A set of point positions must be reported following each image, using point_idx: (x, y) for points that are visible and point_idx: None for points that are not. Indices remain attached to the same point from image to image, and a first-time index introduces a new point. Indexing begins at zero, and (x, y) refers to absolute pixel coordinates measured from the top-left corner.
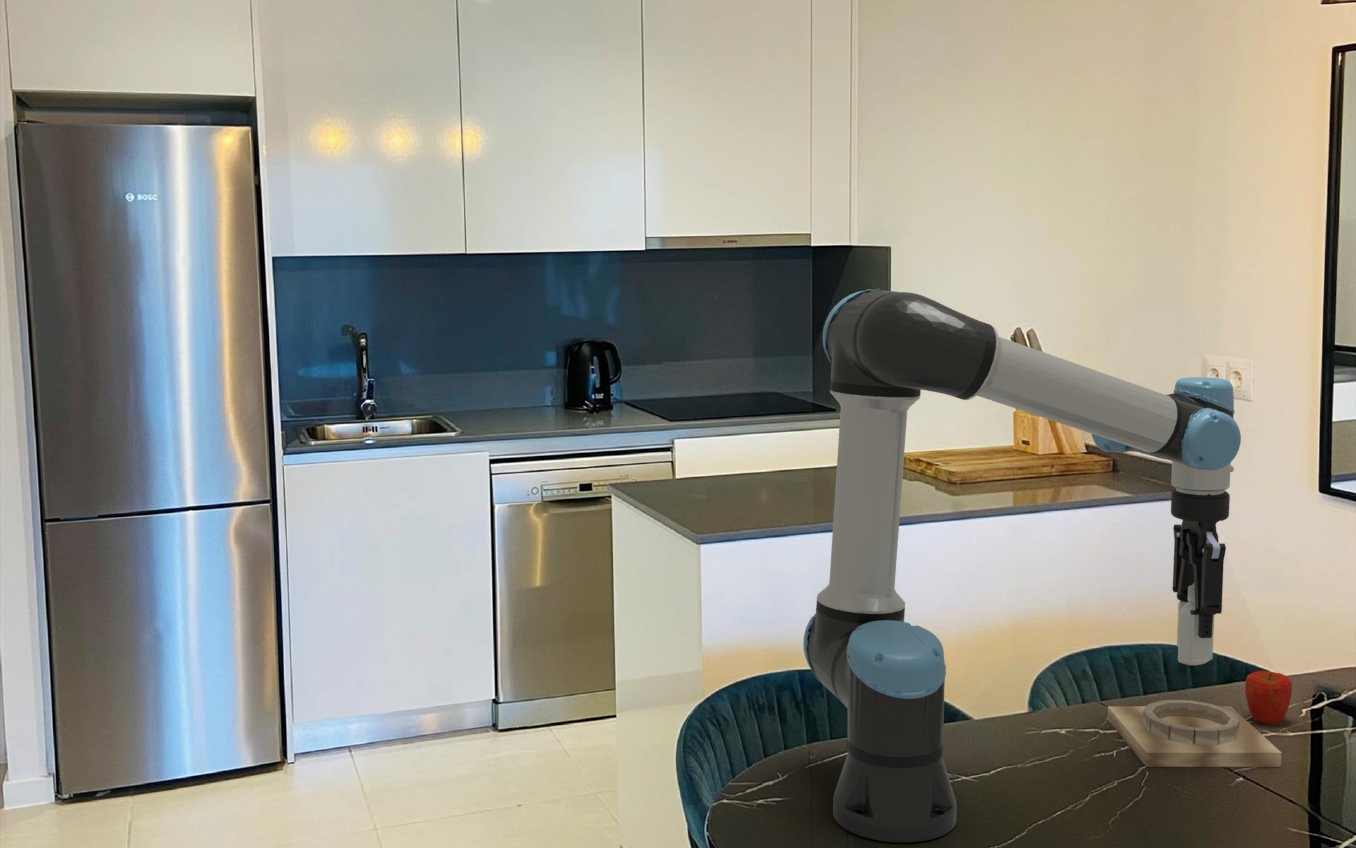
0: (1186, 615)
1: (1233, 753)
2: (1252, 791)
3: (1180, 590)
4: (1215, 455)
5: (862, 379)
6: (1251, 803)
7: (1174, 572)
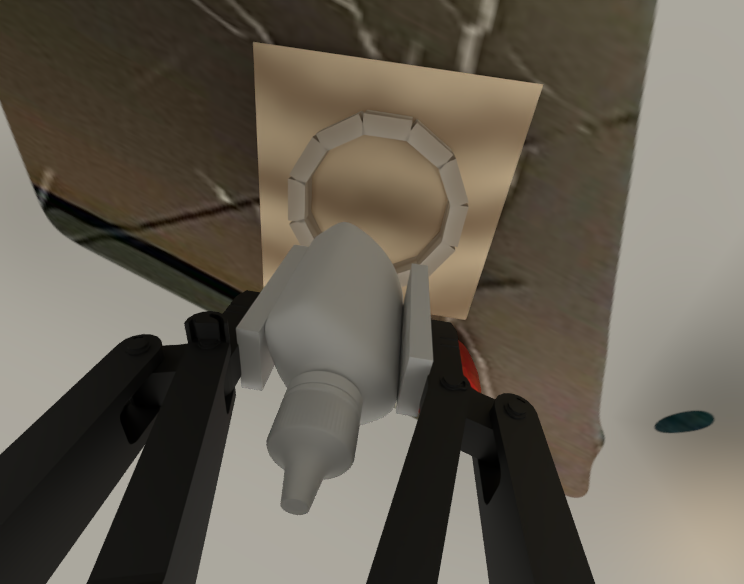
0: (280, 309)
1: (261, 218)
2: (176, 189)
3: (427, 405)
4: None
5: None
6: (128, 163)
7: (541, 490)
